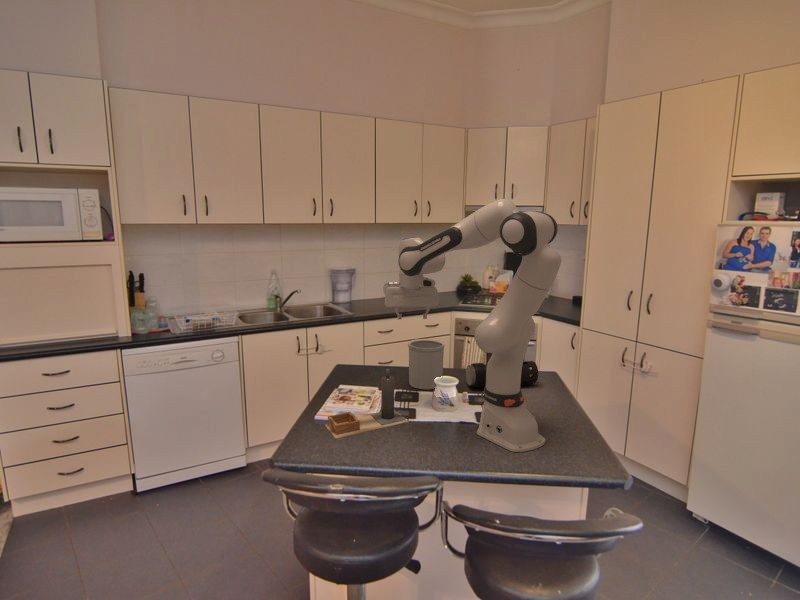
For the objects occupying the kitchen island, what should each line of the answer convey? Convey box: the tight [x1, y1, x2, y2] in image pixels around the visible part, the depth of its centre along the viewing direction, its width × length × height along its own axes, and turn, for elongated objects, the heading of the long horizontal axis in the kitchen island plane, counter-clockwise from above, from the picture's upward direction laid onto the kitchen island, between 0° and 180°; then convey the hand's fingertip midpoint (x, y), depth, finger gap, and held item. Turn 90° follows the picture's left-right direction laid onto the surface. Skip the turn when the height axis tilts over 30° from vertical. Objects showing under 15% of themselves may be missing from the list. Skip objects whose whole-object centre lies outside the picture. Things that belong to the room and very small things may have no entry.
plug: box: [380, 368, 395, 419], centre depth 159 cm, size 4×4×17 cm
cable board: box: [323, 408, 410, 439], centre depth 156 cm, size 11×26×4 cm, turn 118°
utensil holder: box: [407, 338, 445, 390], centre depth 194 cm, size 15×15×18 cm
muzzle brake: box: [465, 360, 539, 389], centre depth 192 cm, size 10×28×10 cm, turn 100°
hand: (412, 318), depth 174 cm, fingers open, 8 cm apart
